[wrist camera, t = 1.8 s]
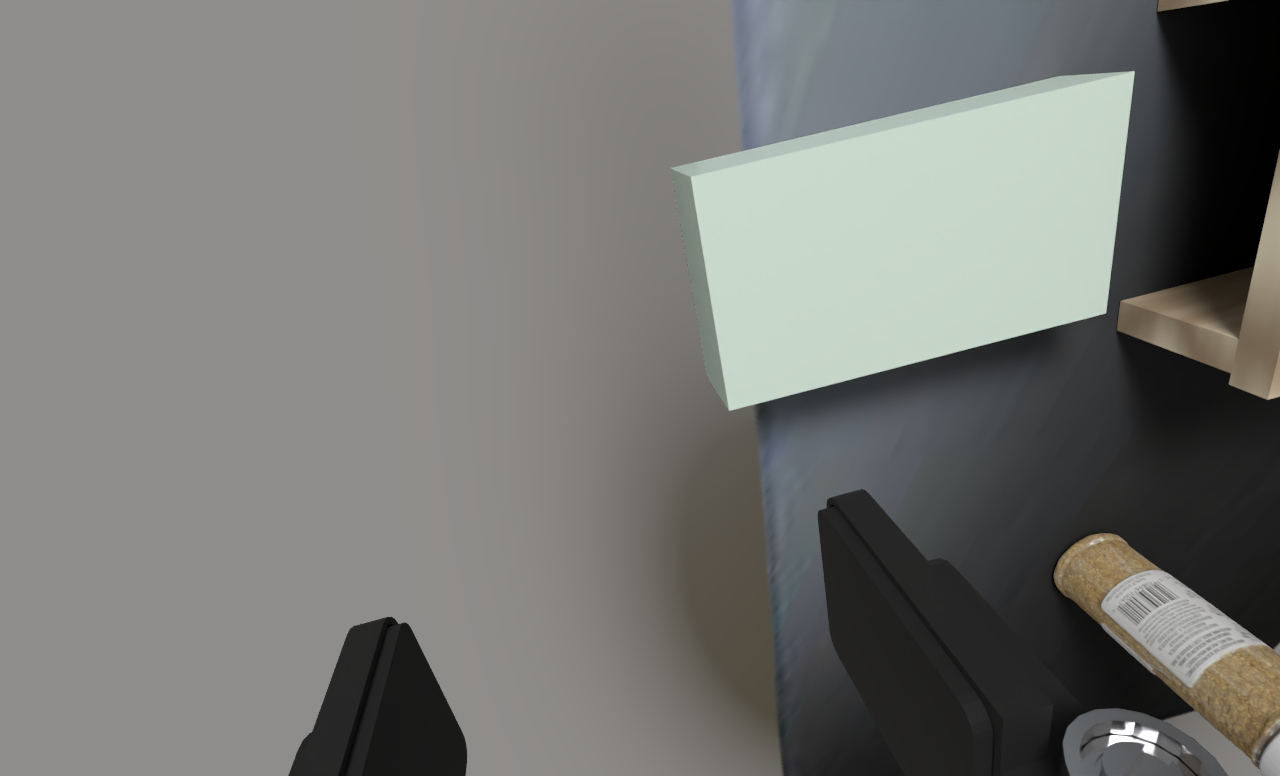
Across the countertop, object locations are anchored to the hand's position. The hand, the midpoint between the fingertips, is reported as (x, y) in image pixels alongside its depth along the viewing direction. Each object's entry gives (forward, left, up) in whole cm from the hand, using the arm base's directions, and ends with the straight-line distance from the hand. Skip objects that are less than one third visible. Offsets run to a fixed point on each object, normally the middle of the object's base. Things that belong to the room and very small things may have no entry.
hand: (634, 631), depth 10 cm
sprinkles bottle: (+22, +25, -18) cm, 38 cm away
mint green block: (0, +13, -18) cm, 22 cm away
